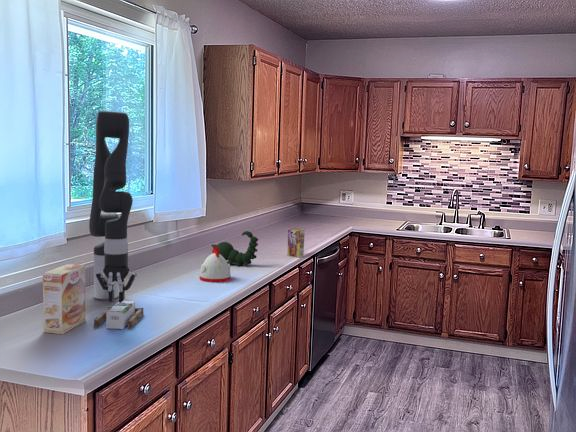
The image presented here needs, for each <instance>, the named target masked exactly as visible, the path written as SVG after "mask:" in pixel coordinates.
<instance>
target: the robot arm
mask: <svg viewBox="0 0 576 432" xmlns="http://www.w3.org/2000/svg"><path fill="white" fill-rule="evenodd" d="M129 133H130V118H129V115H128V114H127V113H126V112H121V111H111V110H110V111H109V110H100V111H98V113H97V115H96V119H95V156H94V165H93V178H92V180H93V181H92V201H91V207H90V208H91V209H90V214H89V215H90V216H89V221H88V222H89V225H88V228H89V229H88V230H89V233H90V236H92V237H95V238H97V237H99V238H101V237H104V242H101V243H98V244H96V245H95V246H94V247H93V293H94V294H93V297H94V298H95V299H97V300H108V301H109V302H110V303H114V302H115V299H117V298H118V302H119V303H122V302H123V301H125V299H126V297H125V294H126V293H125V291H128V290H129V289H131V286H132V285H133V284H134V281H135V280H136V278H137V276H138V275H137V273H136V272H132V271H130V269H129V244H128V243H129V242H128V221H129V218H130V217H129V216H130V213H131V209H132V206H133V196H132V194H131V193H130V192H129V191H123V190H122V191H118V190H121V189H124V188H125V186H126V185H127V155H128V148H129V137H130V136H129V135H130V134H129ZM106 138H109V139H110V138H112V139H118V143H117V145H116V146H115V148H114V149H113V151H112V152H111V151H110V149H109V147H108V144H107V142H106ZM118 213H119V214H120V213H121V214H120V216H119V215H118ZM127 276H128V277H127ZM126 277H127V278H128V281H127V283H126V285H125V279H126Z"/></svg>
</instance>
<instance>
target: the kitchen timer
mask: <svg viewBox="0 0 576 432" xmlns="http://www.w3.org/2000/svg"><path fill="white" fill-rule="evenodd" d="M231 276H232V275H231V266H230V264H228V261H227V260H225V259H224V257H223V256H221V255H220V254H219V251H218V248H217V247H216V246H214V248H213V247H212V250H211V254H210V255H208V256H207V257H206V259H205V260H204V261H203V263H201V265H200V272H199V281H202V282H203V283H204V282H205V283H214V282H218V283H226V282H229V281H230V280H232V279H231V278H232V277H231ZM225 281H226V282H225Z"/></svg>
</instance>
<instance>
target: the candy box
mask: <svg viewBox="0 0 576 432" xmlns="http://www.w3.org/2000/svg"><path fill="white" fill-rule="evenodd" d="M305 234H306V233H305V229H303V228H297V227H289V228H287V250H286V251H287V254H286V255H287V256H289V255H290V256H289V257H294V256H295V257H294V258H304V255H305V253H304V252H305Z"/></svg>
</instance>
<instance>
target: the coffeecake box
mask: <svg viewBox="0 0 576 432" xmlns="http://www.w3.org/2000/svg"><path fill="white" fill-rule="evenodd" d="M42 301H43V302H42V303H43V305H42V306H43V308H42V309H43V316H42V317H43V333H46V334H56V335H57V334H58V335H64V334H65V333H67V332H69V331H71V330H72V329H74V328H76V327H77V326H80V325H82V324H83V323H84V322H86V319H87V318H86V315H87V314H86V313H87V312H86V265H84V264H83V265H82V264H73V263H72V264H71V263H66V264H64V265H62V266H59V267H56V268H53V269H51V270H48V271H45V272H42Z"/></svg>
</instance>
